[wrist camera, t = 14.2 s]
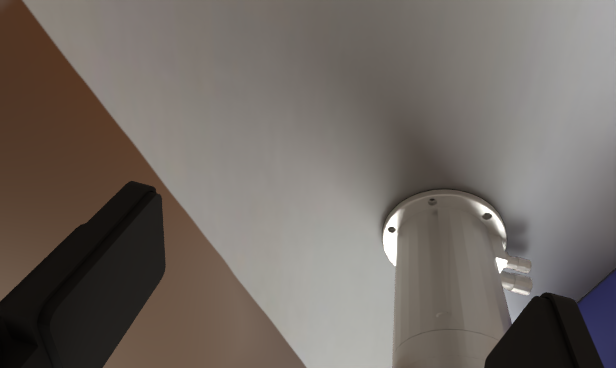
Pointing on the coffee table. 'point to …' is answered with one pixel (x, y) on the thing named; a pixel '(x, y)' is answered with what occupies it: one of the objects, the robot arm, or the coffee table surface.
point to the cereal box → (602, 318)
